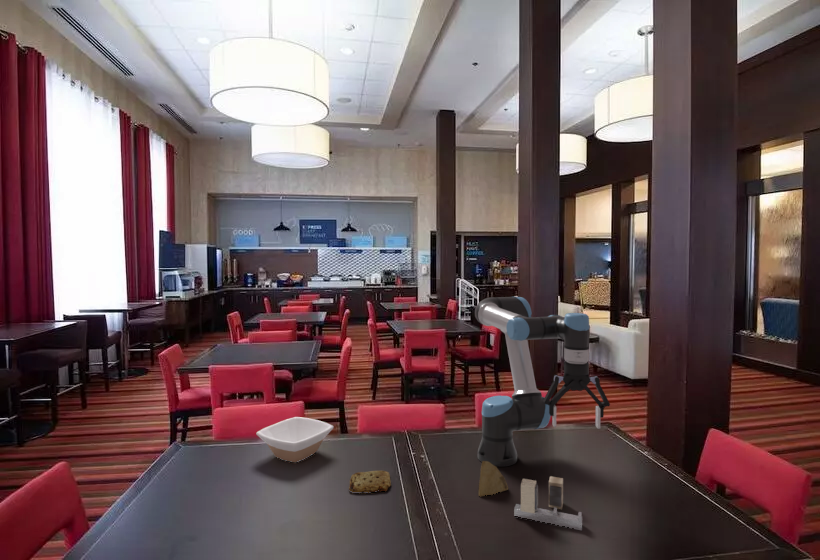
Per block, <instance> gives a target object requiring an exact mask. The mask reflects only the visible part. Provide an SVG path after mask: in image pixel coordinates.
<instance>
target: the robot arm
mask: <svg viewBox="0 0 820 560" xmlns="http://www.w3.org/2000/svg"><path fill="white" fill-rule="evenodd" d="M474 317H475V319H476V320H477V322H478V323H480V324H481V325H483V326H486V327H493V328H496V329H498V330H500V331H501V332H502V333H503V334H504V335H505V343H506V347H507V354H508V358H509V365H510V371H511V376H512V383H513V389H514V391H513V393H512V395H511V397H510V396H508V395H493V396H490V397H488V398H486V399H485V400H484V401H482V407H481V440H480V443H479V445H478V449H477V460H478V461H480V463H482V461H487V462H490V463H491V464H493V465H494V466H496V467H497V468H498V467H502V468H503V467H509V466H513V465H515V464H516V463H517V462H518V451H517V449H516V446H515V444H514V439H513V437H514V435H513V432H516V431H517V432H518V431H527V430H530V431H531V430H538V429H544V428H545V427H547V426H548V425H549V423H550V420H551V418H552V422H551V424H552V426H553V428H556V427H557V406H556V404H557V403H558V402H559V401H560V400H561V399H562V397H563V396H565V394H566V393H568V392H569V391H570V390H571V391H574V392H575V391H579V392H583V391H584V390H585V392H587V393H588V395H589V396H590V397H591V398H592V399H593V400H594V402H595V403H596V404H597V405H595V427H596V428H597V429H599V430H601V419H602V418H604V414H605V412H604V410H605V408H607V407H610V406H611V403H610V402H609V399H608V397H607V395H606V394H605V392H604V390H603V387H602V386H601V382H600V378H599V377H598V376H597V375H593V376H590V364H589V361H590V317H589V315H588V314H587V313H580V312H567V313H565V315H564V316H562V315H560V314H550V315H548V316H537V317H536V316H534V317H533V316H532V308H531V305H530V303H529V301H528V300H527V299H526V298H525V297H521V296H515V295H514V296H505V297H504V296H501V297H497V296H495V297H493V296H492V297H486V298H484V299H482V300H481V301H479V302H478V303H477V305H476V307H475V308H474ZM548 339H551V340H553V339H561V340H562V341H563V342H564V344H563V346H564V347H563V349H564V352H563V359H564V360H565V361H564V362H563V376H560V375H557V374H554V375H553V380H552V382H551V385H550V387H549V389H548V390H547V393H545V394H546V395H545V396H542V391H541V390H539V389H538V388H537V384H536V380H535V373H534V368H533V364H532V363H533V361H532V358H531V353H530V348H529V340H548ZM562 381H563V383H564V384H562V387H561V388H560V389H559V390H558V391H557V392H556V390H557V388H558V385H559V384H560V383H561V382H562ZM590 383H592V384H593V385H594V386H595V388H596V390H597V392H598V395H599V396H600V398H601V400H602V401H601V400H600V399H599V398H598V396H596V394H594V392H593V391H592V390H591V389H590V387H589V386H588V385H589V384H590ZM555 392H556V393H555ZM554 393H555V395H554ZM553 395H554V396H553Z"/></svg>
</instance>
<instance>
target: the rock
mask: <svg viewBox="0 0 820 560" xmlns="http://www.w3.org/2000/svg"><path fill="white" fill-rule="evenodd" d="M480 465H481V466H480V470H479V472H480V473H479V474H480V475H479V482H478V491H477V494H478V497H479V496H480V498H481V497H488V496H487V495H491V496H494V495H497V494H498V492H500V493H502V492H505V491H508V490H509V486H508V483H507V480H506V478H505V476H504V475H503V474H502V472H501V471H500V470H499V468H498V466H494V465H493V464H491V463H490V462H487V461H482V462H481V464H480ZM496 493H497V494H496ZM493 494H494V495H493ZM485 495H486V496H485Z"/></svg>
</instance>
